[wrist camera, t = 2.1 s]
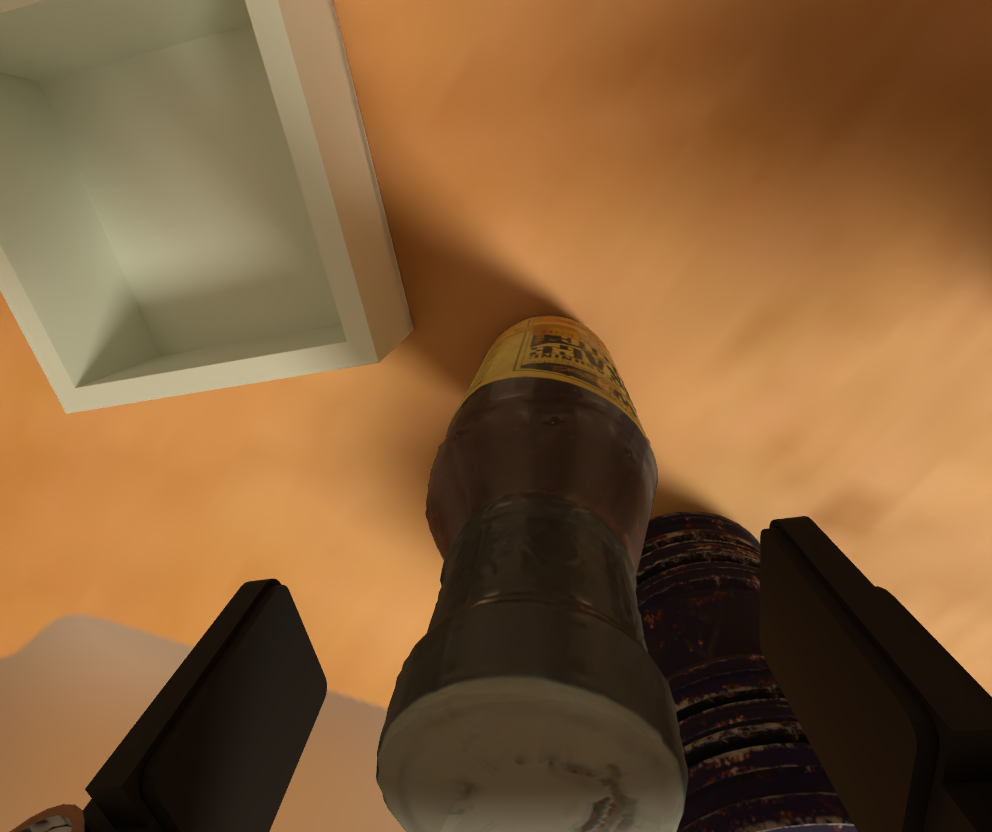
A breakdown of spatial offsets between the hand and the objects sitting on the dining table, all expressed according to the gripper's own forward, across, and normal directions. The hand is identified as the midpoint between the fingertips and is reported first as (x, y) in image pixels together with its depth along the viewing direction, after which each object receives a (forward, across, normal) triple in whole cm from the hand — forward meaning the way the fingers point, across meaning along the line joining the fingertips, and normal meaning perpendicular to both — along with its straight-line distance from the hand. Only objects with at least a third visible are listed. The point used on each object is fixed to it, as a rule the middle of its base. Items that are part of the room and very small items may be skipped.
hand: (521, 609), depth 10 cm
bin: (+16, +12, -10) cm, 23 cm away
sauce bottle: (+16, -1, 0) cm, 16 cm away
